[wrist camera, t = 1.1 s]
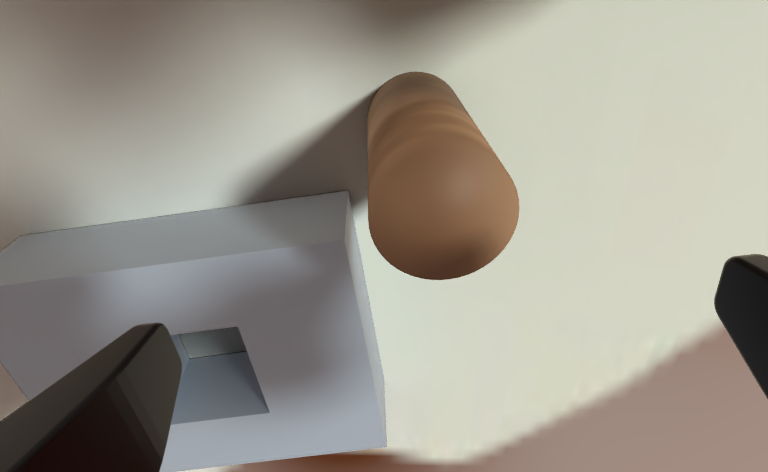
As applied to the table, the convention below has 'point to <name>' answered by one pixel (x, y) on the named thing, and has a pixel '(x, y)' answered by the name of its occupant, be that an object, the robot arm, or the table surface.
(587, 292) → the table surface
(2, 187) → the table surface
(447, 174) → the peg
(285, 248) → the socket block
